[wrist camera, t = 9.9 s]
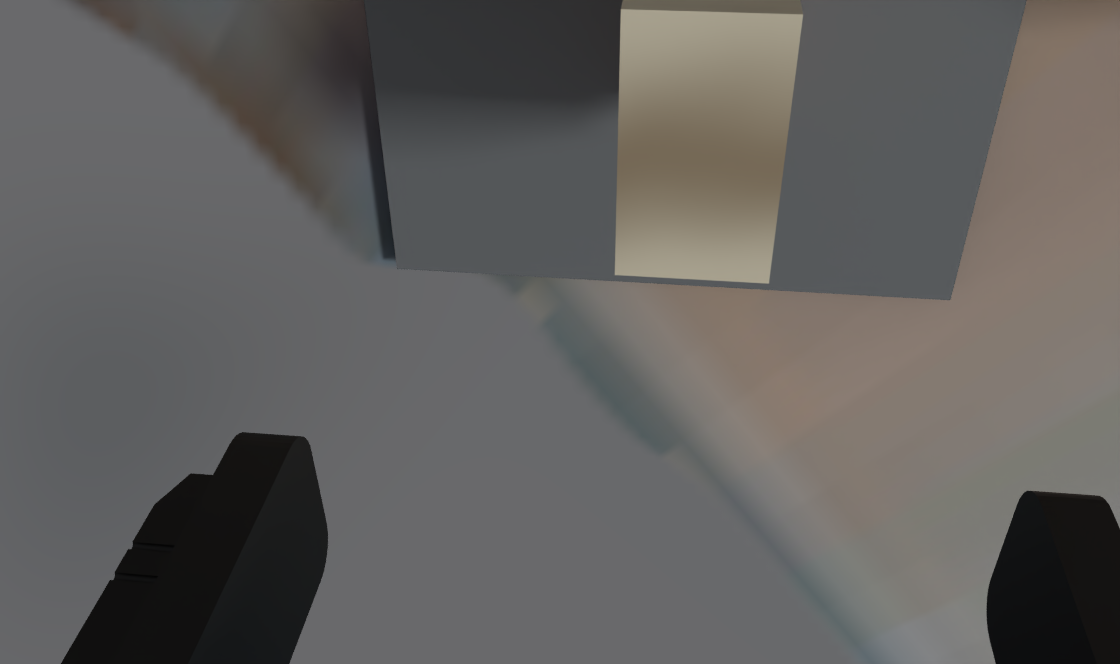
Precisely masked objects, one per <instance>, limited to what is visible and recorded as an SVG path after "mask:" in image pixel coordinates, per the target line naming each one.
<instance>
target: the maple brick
mask: <svg viewBox="0 0 1120 664" xmlns="http://www.w3.org/2000/svg"><path fill="white" fill-rule="evenodd" d="M802 20H803V11H802V6H801V1H800V0H623V2H622V6H621V24H620V68H619V112H618V156H617V200H616V244H615V275H623V276H641V277H659V278H677V279H695V280H713V281H731V282H749V283H767V284H769V278H770V271H771V263H772V255H773V247H774V239H775V231H776V224H777V216H778V208H779V200H780V192H781V184H782V177H783V169H784V161H785V153H786V145H787V137H788V130H789V122H790V114H791V106H792V98H793V90H794V82H795V75H796V67H797V59H798V51H799V43H800V35H801V28H802Z"/></svg>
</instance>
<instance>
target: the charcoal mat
mask: <svg viewBox="0 0 1120 664" xmlns="http://www.w3.org/2000/svg"><path fill="white" fill-rule="evenodd" d="M800 1H801V6H802V11H803V20H802V28H801V35H800V43H799V51H798V59H797V67H796V75H795V82H794V90H793V98H792V106H791V114H790V122H789V130H788V137H787V145H786V153H785V161H784V169H783V177H782V184H781V192H780V200H779V208H778V216H777V224H776V231H775V239H774V247H773V255H772V263H771V271H770V278H769V284H767V283H749V282H731V281H713V280H695V279H677V278H659V277H641V276H623V275H615V244H616V200H617V156H618V112H619V68H620V24H621V6H622V2H623V0H364V5H365V13H366V21H367V29H368V37H369V45H370V53H371V62H372V70H373V78H374V86H375V94H376V102H377V110H378V118H379V127H380V135H381V143H382V151H383V159H384V167H385V175H386V183H387V192H388V200H389V208H390V216H391V224H392V232H393V240H394V248H395V256H396V265H397V269H411V270H429V271H447V272H464V273H482V274H499V275H517V276H534V277H552V278H569V279H587V280H604V281H622V282H640V283H657V284H675V285H692V286H710V287H727V288H745V289H762V290H780V291H797V292H815V293H833V294H850V295H868V296H885V297H903V298H920V299H938V300H950V299H951V295H952V291H953V288H954V284H955V280H956V276H957V272H958V268H959V264H960V260H961V256H962V252H963V248H964V244H965V240H966V236H967V233H968V229H969V225H970V221H971V217H972V213H973V209H974V205H975V201H976V197H977V193H978V189H979V185H980V181H981V178H982V174H983V170H984V166H985V162H986V158H987V154H988V150H989V146H990V142H991V138H992V134H993V130H994V126H995V123H996V119H997V115H998V111H999V107H1000V103H1001V99H1002V95H1003V91H1004V87H1005V83H1006V79H1007V75H1008V71H1009V68H1010V64H1011V60H1012V56H1013V52H1014V48H1015V44H1016V40H1017V36H1018V32H1019V28H1020V24H1021V20H1022V16H1023V13H1024V9H1025V5H1026V1H1027V0H800Z"/></svg>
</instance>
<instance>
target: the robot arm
mask: <svg viewBox="0 0 1120 664" xmlns="http://www.w3.org/2000/svg"><path fill="white" fill-rule="evenodd" d="M327 548H328V531H327V523H326V518H325V513H324V509H323V504H322V499H321V495H320V489H319V485H318V480H317V476H316V471H315V466H314V461H313V456H312V452H311V448H310V445H309V442H308V441H307V439H306V438H305V437H301V436H288V435H274V434H260V433H246V432H242V433H239V434H238V435H236V436H235V438H234V439H233V440H232V442H231V443H230V445H229V447H228V449H227V450H226V452H225V454H224V456H223V458H222V460H221V461H220V464H219V465H218V467H217V469H216V471H215V473H214V474H213V475H204V474H190V475H188V476H187V477H186V478H185V479H184V480H183V481H182V482H180V483H179V484H178V485H177V486H176V487H174V488H173V489H172V490H171V491H170V492H169V493H168V494H167V495H165V496H164V497H163V498H162V499H160V500H159V501H158V502H157V503H156V504H155V505H154V506H153V508H152V510H151V511H150V513H149V515H148V517H147V518H146V520H145V522H144V523H143V525H142V527H141V529H140V530H139V532H138V534H137V535H136V537H135V539H134V540H133V547H132V549H128V550H127V552H126V554H125V556H124V557H123V559H122V561H121V563H120V564H119V566H118V568H117V569H116V571H115V578H114V580H110V581H109V583H108V584H107V586H106V588H105V590H104V591H103V593H102V595H101V596H100V598H99V600H98V601H97V603H96V605H95V607H94V609H93V610H92V612H91V614H90V615H89V617H88V619H87V620H86V622H85V624H84V625H83V627H82V629H81V630H80V632H79V634H78V635H77V637H76V639H75V641H74V642H73V644H72V646H71V647H70V649H69V651H68V652H67V654H66V656H65V657H64V659H63V661H62V663H61V664H289V663H290V660H291V658H292V655H293V652H294V650H295V647H296V644H297V642H298V639H299V636H300V634H301V631H302V629H303V626H304V624H305V621H306V618H307V616H308V613H309V610H310V608H311V605H312V603H313V600H314V597H315V594H316V592H317V589H318V587H319V584H320V582H321V578H322V576H323V572H324V568H325V563H326V557H327ZM987 626H988V633H989V638H990V643H991V647H992V651H993V654H994V658H995V662H996V664H1120V528H1119V526H1118V524H1117V521H1116V519H1115V517H1114V514H1113V512H1112V510H1111V508H1110V506H1109V504H1108V503H1107V501H1106V500H1105V499H1104V498H1103V497H1101V496H1095V495H1081V494H1067V493H1053V492H1039V491H1026V492H1025V493H1024V494H1023V495H1022V496H1021V498H1020V499H1019V502H1018V504H1017V507H1016V510H1015V512H1014V515H1013V518H1012V521H1011V524H1010V526H1009V529H1008V532H1007V535H1006V538H1005V540H1004V543H1003V546H1002V549H1001V552H1000V555H999V557H998V560H997V563H996V566H995V569H994V571H993V574H992V577H991V580H990V584H989V589H988V595H987Z"/></svg>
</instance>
